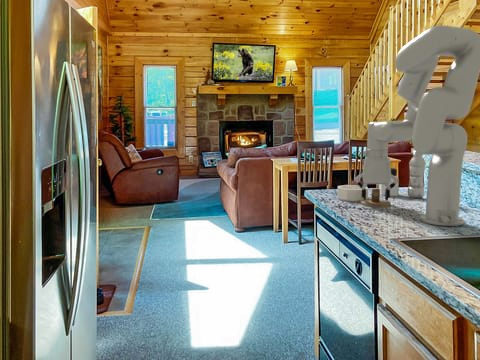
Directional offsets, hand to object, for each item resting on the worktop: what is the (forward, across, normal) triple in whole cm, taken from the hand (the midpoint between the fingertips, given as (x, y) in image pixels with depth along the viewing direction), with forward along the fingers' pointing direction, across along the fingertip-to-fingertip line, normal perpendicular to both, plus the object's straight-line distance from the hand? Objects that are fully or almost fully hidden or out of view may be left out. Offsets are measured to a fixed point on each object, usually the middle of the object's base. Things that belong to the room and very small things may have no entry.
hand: (375, 199), depth 156 cm
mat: (+2, 0, 0) cm, 2 cm away
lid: (+2, 0, 0) cm, 2 cm away
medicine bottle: (+3, +8, +23) cm, 24 cm away
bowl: (+2, -8, +11) cm, 14 cm away
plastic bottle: (+3, +18, +17) cm, 25 cm away
